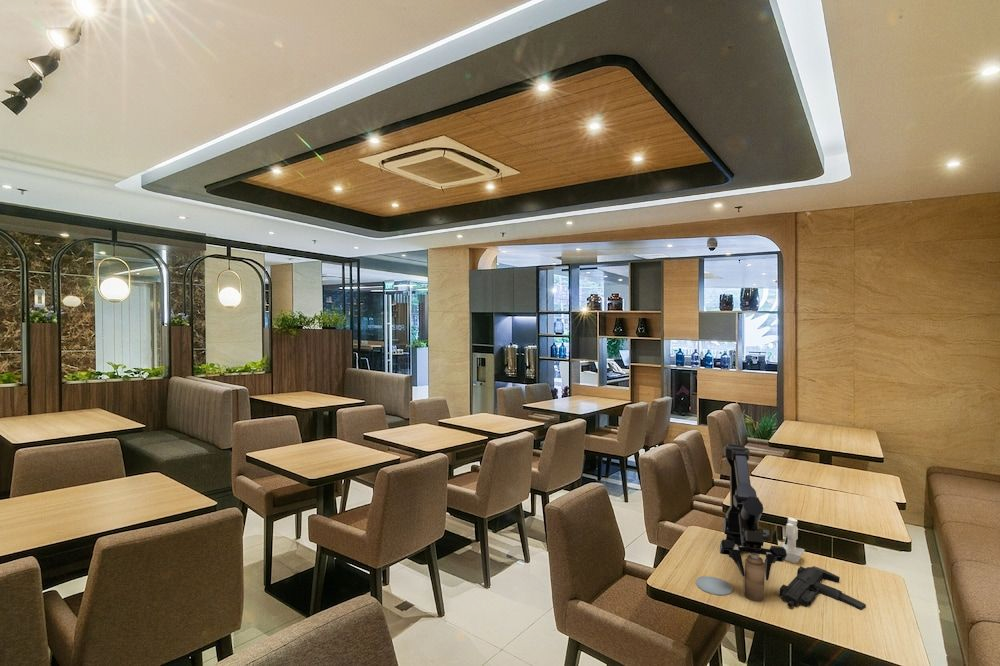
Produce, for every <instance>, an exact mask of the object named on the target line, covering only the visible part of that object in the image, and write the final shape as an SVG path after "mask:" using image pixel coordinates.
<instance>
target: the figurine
mask: <svg viewBox="0 0 1000 666" xmlns="http://www.w3.org/2000/svg"><path fill="white" fill-rule="evenodd" d="M797 525H798V520H797V519H796V518H793V517H787V523H786V524H785V536H786V538H787V543H781V545H780V547H784V548H785V550H786V554H787V556H786V558H785V560H784V561H786V562H789V563H791V564H792V563H793V564H796V565H797V564H798V562H799V561H800V559H801V557H802V556H803V554H804V551H805V550H806V549H804V548H801V547H797V540H798V539H799V537H798V536H799V535H798V534H799V528H798V526H797Z"/></svg>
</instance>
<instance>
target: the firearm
mask: <svg viewBox="0 0 1000 666" xmlns="http://www.w3.org/2000/svg"><path fill="white" fill-rule="evenodd" d="M823 580H826V581H828V582H829V581H830V582H833V583H835V584H837V583H838V584H839V583H840V580H841V578H840V576H838V575H836V574H834V573H832V572H830V571H827V570H825V569H823V568H821V567H817V566H815V565H814V566H810V567H809V566H807V567H804V566H799V567H798V568H797V572H796V576H795V577H794V578H793V579H792V580H791V582H789V584H788V585H786V584H782V585H781V586H780V587H779V593H778V594H779V597H781V600H783V601H784V602H785V603H786V604H787V607H788V608H792V607H794V608H797V607H798V606H799V605H800V606H802V607H804V608H805V607H806V608H808V607H810V606H811V605H812V603H813V602H814V601H815V599H816V597H817V596H818V594H822V595H825V596H827V597H830V598H831V599H832V598H833V599H834V600H836V601H839V602H842V603H843V604H846V605H849V606H851V607H853V608H855V609H857V610H859V611H861V610H863V609H864V608H867V606H866V605H867V604H866V603H864V602H862V601H860V600H858V599H856V598H854V597H853V596H850V595H848V594H846V593H844V592H843V591H841V590H839V589H837V588H835V587H832V586H829V585H826V584H824V583H821V581H823Z"/></svg>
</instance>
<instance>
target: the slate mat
mask: <svg viewBox="0 0 1000 666" xmlns="http://www.w3.org/2000/svg"><path fill="white" fill-rule="evenodd" d="M695 584H696V585H695V586H697V588H698V589H700V590H701V591H703V592H705V593H707V594H710V595H715V596H728V595H730V594H732V592H733V586H732V585H731V584H730V583H729V582H728V581H726V580H724V579H722V578H719V577H715V576H709V575H707V576H706V575H705V576H700V577H698V578H696V579H695Z"/></svg>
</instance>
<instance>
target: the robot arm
mask: <svg viewBox="0 0 1000 666" xmlns="http://www.w3.org/2000/svg"><path fill="white" fill-rule="evenodd" d="M722 453H723V457H724V458H725V462H726V463H727V465H728V466H729V488H730V489H729V491H730V492H729V497H730V502H729V503H730V506H729V508H728V509H727V511H726V512H725V517H724V520H723V522H722V530H723V533H724V535H726V536H725V539H724V538H722V540H721V541H720V544H719V554H721V555H726V556H728V557H729V558H731V559H732V560H733V562H734V563H735V565H736V566H737V568H738V570H739V572H740V575H741V577H743V578H745V567H744V563H743V559H742V554H743V553H747V554H751V553H757V554H759V555H761V556H765V559H764V560H763V562H764V563H765V580H766V581H768V580H769V577H770V574H771V568H772V565H773V564H776V562H780V563H783V562H784V561H786V560H785V558H786V556H787V554H786V550H785V548H784V547H780V546H781V545H780V546H779V545H773V544H771V545H770V547H769V548H763V546H764V544H765V542H770V541H771V534H770V530H769V529H761V530H760V528H759V521H760V519H761V517H762V515H763V512H764V505H763V503H762V502H761V500H760V498H759V497H758V496H757V491H756V489H755V488H754V487H753V486H752V485H751V479H750V470H749V463H748V461H749V460H750V448H747V447H746V446H745V444H737V443H736V444H735V443H727V444H726V446H723V452H722Z"/></svg>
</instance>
